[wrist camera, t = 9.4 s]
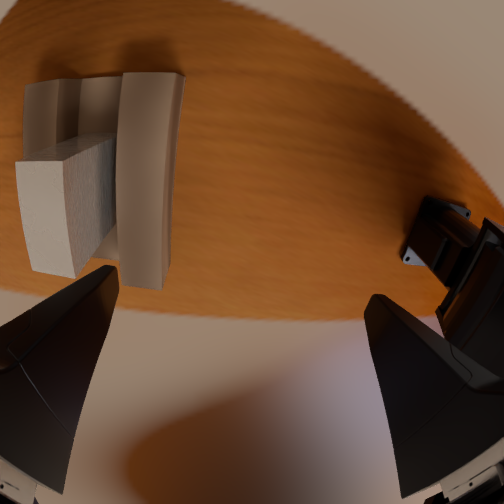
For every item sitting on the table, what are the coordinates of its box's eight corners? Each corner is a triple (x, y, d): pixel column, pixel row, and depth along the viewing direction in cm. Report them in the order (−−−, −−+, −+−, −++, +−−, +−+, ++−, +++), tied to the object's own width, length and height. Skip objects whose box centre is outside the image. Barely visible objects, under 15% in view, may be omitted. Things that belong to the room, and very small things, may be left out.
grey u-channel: (186, 77, 15) (175, 72, 12) (170, 263, 22) (161, 290, 19) (52, 83, 14) (25, 85, 11) (59, 249, 21) (40, 271, 18)
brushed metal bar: (124, 133, 16) (62, 161, 10) (122, 215, 19) (75, 278, 12) (86, 133, 16) (15, 161, 9) (87, 211, 19) (32, 270, 12)
